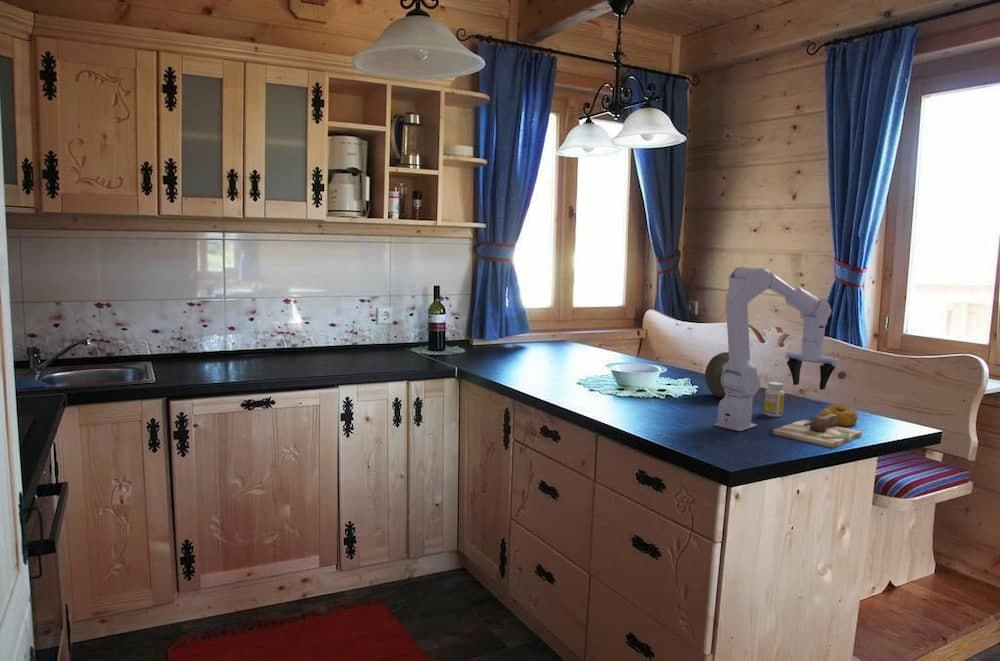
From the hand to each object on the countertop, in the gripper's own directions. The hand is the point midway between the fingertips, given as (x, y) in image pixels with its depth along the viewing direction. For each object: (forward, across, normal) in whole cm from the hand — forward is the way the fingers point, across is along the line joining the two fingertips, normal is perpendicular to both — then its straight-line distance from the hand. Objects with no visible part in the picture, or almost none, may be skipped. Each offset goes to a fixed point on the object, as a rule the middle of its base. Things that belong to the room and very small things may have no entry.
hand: (808, 386), depth 207 cm
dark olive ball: (+10, +30, -7) cm, 32 cm away
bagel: (+10, -7, -5) cm, 13 cm away
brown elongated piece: (+8, -9, +13) cm, 18 cm away
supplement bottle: (+10, +9, +2) cm, 14 cm away
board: (+10, -9, +14) cm, 20 cm away
